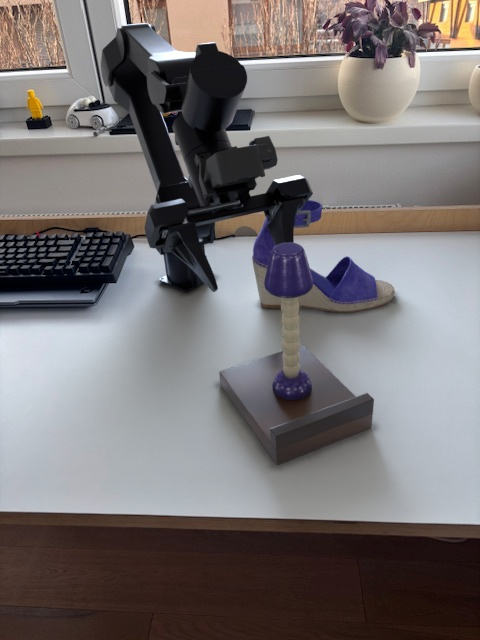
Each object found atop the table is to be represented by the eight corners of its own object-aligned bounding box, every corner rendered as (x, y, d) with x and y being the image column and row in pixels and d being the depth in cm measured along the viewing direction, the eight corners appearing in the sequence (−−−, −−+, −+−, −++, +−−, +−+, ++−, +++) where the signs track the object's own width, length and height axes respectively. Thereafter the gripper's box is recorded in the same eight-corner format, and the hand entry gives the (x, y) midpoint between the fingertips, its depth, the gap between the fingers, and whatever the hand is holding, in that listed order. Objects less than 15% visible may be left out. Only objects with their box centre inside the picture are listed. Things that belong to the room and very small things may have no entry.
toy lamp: (312, 404, 56) (314, 258, 47) (266, 403, 57) (261, 258, 48) (311, 375, 60) (313, 236, 51) (269, 375, 61) (264, 236, 52)
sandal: (398, 314, 74) (410, 208, 66) (253, 314, 76) (247, 212, 68) (391, 286, 80) (400, 187, 73) (257, 286, 83) (252, 191, 75)
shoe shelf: (220, 385, 63) (217, 358, 61) (302, 357, 67) (302, 331, 65) (276, 465, 52) (275, 436, 50) (371, 427, 56) (374, 399, 54)
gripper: (134, 125, 52) (185, 274, 49) (305, 99, 58) (359, 231, 55) (127, 184, 62) (169, 310, 59) (273, 157, 68) (317, 270, 65)
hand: (254, 280), depth 59 cm, fingers open, 9 cm apart
